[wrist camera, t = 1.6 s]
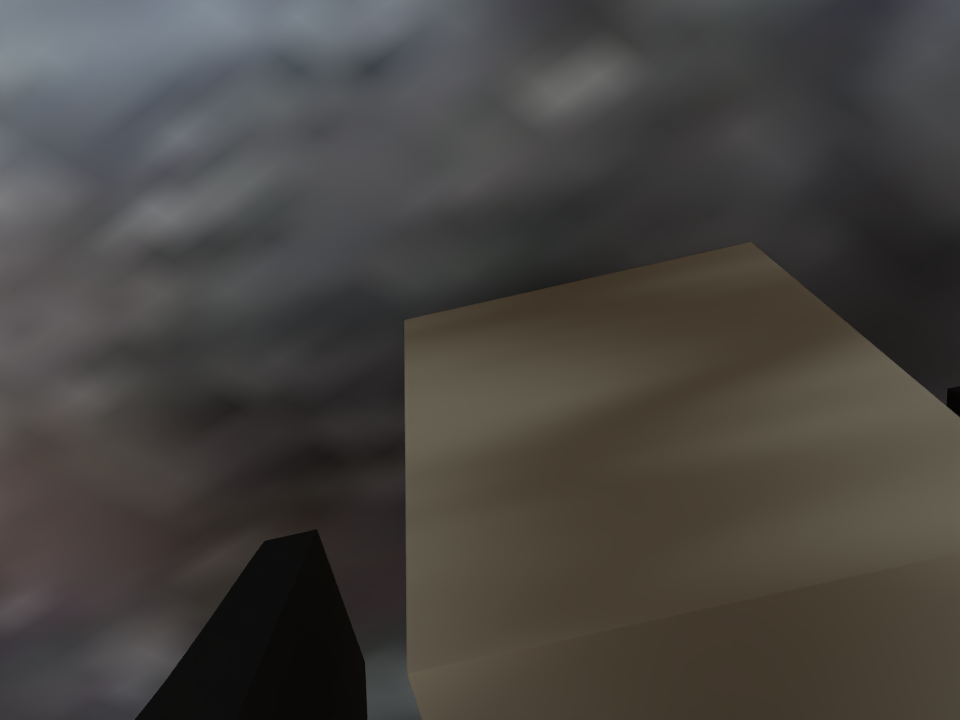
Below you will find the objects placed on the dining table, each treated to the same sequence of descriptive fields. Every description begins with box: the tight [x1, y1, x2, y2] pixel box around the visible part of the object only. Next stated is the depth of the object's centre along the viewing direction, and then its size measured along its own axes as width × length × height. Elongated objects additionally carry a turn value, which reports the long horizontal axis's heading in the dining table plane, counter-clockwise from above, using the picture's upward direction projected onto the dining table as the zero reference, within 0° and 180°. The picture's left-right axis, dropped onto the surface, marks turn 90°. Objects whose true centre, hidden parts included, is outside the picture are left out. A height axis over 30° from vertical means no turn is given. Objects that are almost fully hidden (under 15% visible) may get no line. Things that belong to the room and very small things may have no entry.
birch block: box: [404, 242, 960, 720], centre depth 9 cm, size 4×4×6 cm
